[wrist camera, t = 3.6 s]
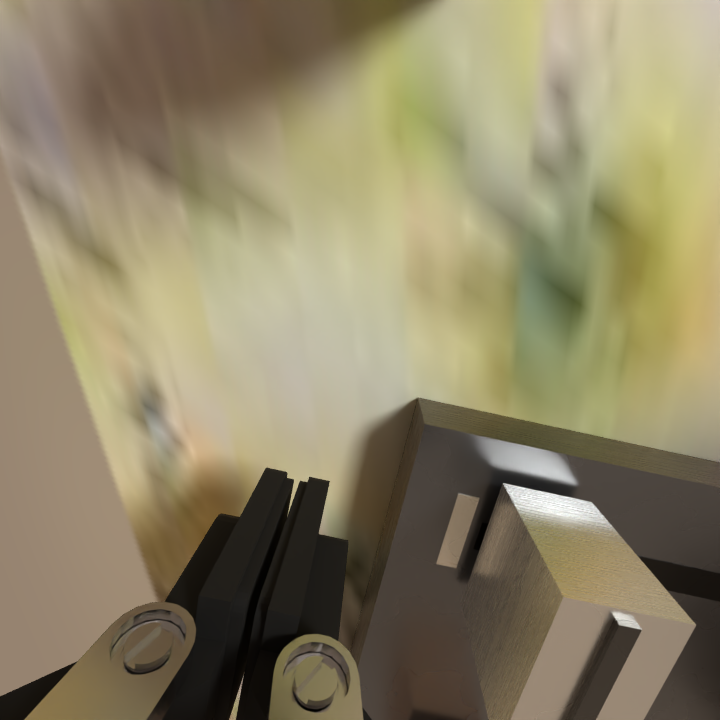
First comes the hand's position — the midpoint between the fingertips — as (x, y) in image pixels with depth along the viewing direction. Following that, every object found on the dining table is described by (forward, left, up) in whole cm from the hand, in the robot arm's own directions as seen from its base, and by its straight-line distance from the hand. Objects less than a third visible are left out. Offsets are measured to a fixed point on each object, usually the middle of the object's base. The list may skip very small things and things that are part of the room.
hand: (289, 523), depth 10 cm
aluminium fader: (-6, 0, -1) cm, 6 cm away
